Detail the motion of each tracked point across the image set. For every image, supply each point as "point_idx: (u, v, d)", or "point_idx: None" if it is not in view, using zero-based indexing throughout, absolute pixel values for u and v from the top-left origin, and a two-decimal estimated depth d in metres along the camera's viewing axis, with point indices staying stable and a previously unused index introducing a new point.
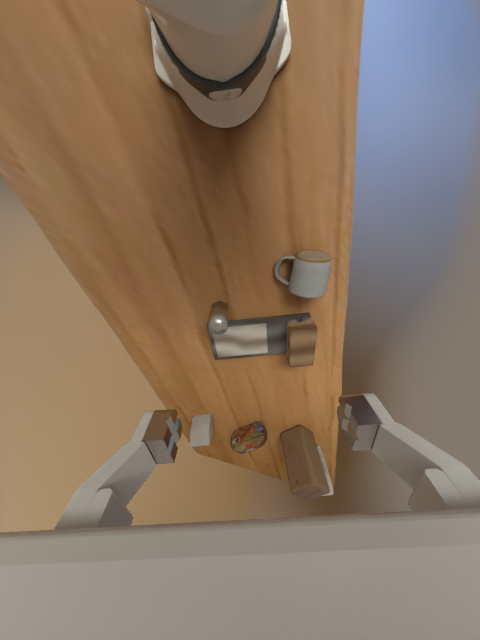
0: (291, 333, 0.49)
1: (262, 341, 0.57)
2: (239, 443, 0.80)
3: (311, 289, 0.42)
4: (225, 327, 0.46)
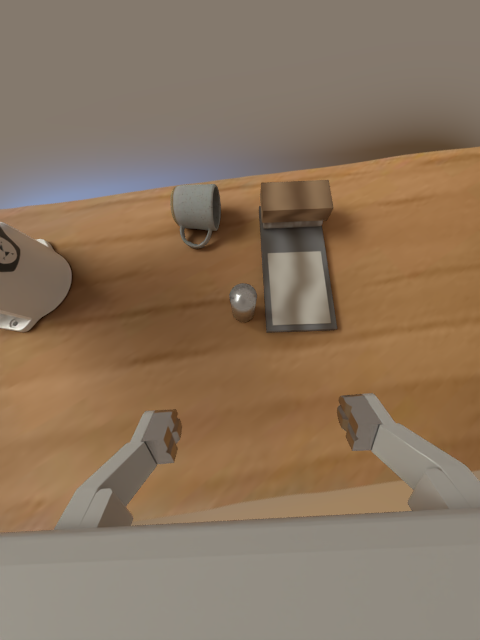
0: (267, 209, 0.37)
1: (298, 257, 0.40)
2: None
3: (201, 193, 0.37)
4: (243, 285, 0.32)
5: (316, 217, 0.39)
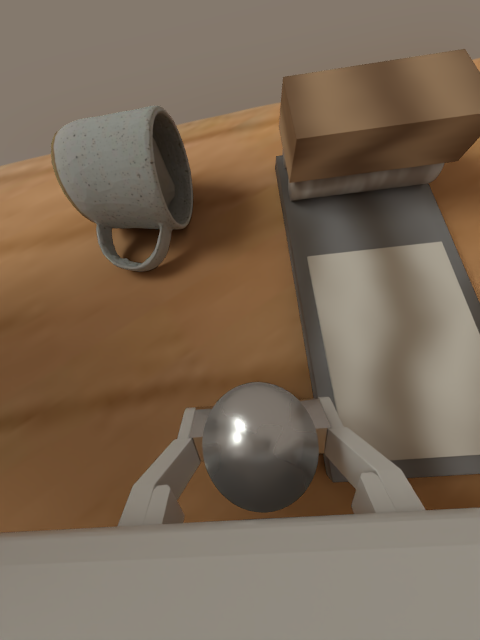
0: (309, 135, 0.13)
1: (388, 262, 0.16)
2: None
3: (122, 127, 0.13)
4: (259, 392, 0.08)
5: (435, 153, 0.15)
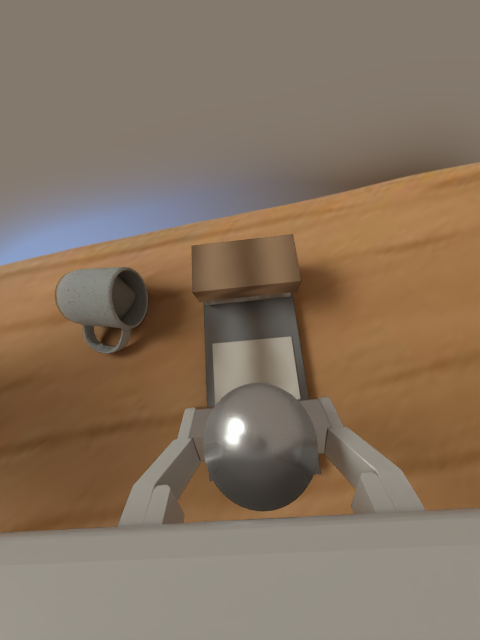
0: (199, 289, 0.24)
1: (258, 349, 0.27)
2: None
3: (95, 288, 0.24)
4: (259, 393, 0.08)
5: (278, 290, 0.25)
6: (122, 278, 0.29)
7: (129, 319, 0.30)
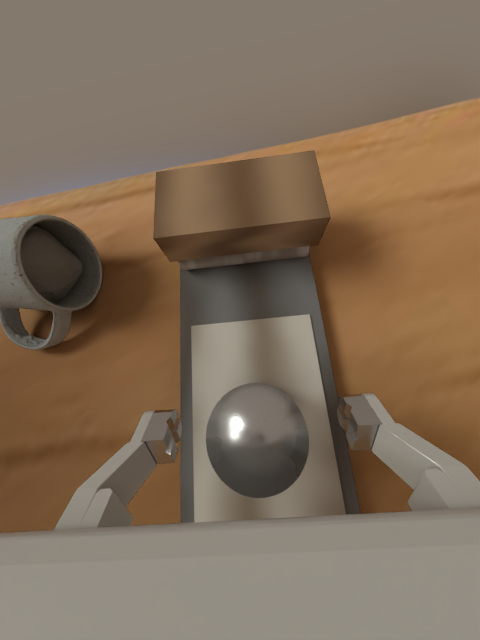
0: (164, 234, 0.15)
1: (260, 333, 0.18)
2: None
3: None
4: (256, 392, 0.09)
5: (292, 241, 0.16)
6: (61, 240, 0.20)
7: (72, 300, 0.20)
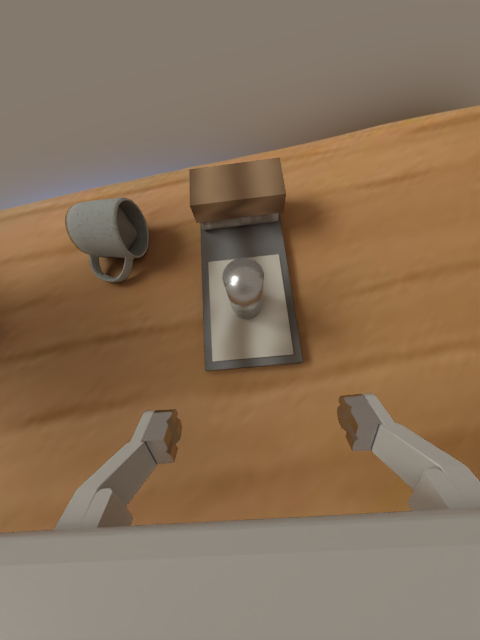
0: (196, 203, 0.27)
1: None
2: None
3: (101, 212, 0.26)
4: (243, 260, 0.21)
5: (267, 209, 0.28)
6: (125, 215, 0.32)
7: (131, 253, 0.32)
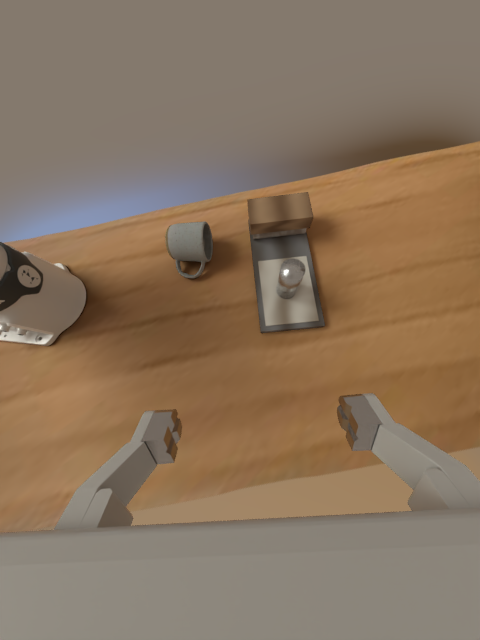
0: (254, 223, 0.41)
1: None
2: None
3: (192, 231, 0.41)
4: (292, 260, 0.35)
5: (299, 226, 0.43)
6: None
7: None
